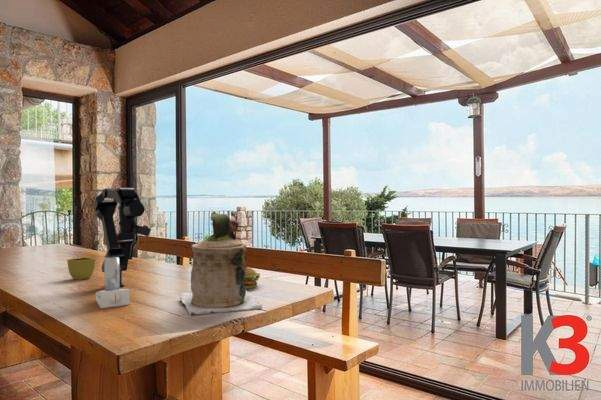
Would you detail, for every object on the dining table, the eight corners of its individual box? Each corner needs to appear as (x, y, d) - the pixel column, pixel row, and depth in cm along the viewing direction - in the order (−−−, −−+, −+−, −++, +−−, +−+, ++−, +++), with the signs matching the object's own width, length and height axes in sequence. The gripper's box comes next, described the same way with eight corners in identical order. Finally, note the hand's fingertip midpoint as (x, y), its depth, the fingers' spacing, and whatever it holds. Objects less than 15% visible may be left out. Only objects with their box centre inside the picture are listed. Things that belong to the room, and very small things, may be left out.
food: (251, 291, 163) (251, 271, 163) (220, 288, 168) (220, 269, 168) (266, 284, 176) (266, 265, 176) (237, 282, 181) (237, 264, 181)
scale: (93, 300, 148) (93, 286, 148) (125, 297, 154) (125, 283, 154) (98, 308, 138) (98, 293, 138) (131, 304, 143) (131, 289, 143)
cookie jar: (188, 317, 128) (188, 213, 128) (178, 299, 150) (178, 211, 150) (265, 308, 138) (264, 212, 138) (244, 293, 160) (244, 210, 160)
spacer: (107, 290, 149) (107, 256, 149) (121, 290, 149) (121, 256, 149) (102, 293, 144) (102, 258, 144) (116, 293, 144) (116, 258, 144)
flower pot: (96, 278, 191) (96, 258, 191) (77, 281, 184) (77, 260, 184) (85, 276, 196) (85, 257, 196) (66, 279, 188) (66, 259, 188)
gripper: (147, 215, 156) (150, 257, 155) (150, 219, 174) (152, 257, 173) (115, 218, 153) (117, 260, 151) (121, 221, 171) (123, 260, 169)
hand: (129, 259), depth 161 cm, fingers open, 9 cm apart
